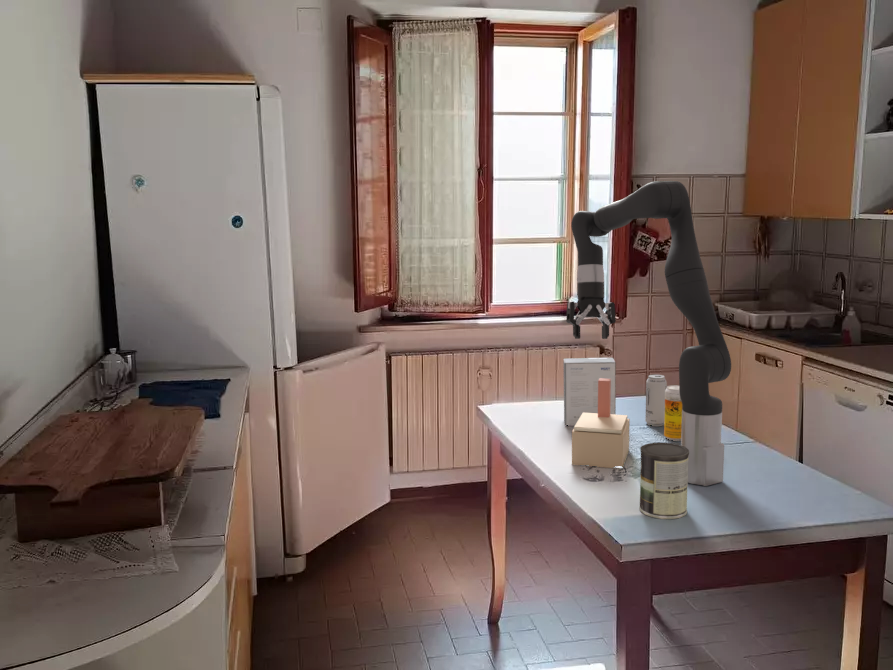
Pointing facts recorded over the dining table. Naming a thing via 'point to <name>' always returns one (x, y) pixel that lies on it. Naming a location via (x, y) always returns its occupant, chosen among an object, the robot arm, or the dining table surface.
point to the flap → (602, 414)
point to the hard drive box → (586, 386)
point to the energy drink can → (655, 400)
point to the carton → (600, 448)
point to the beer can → (673, 413)
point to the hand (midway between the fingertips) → (591, 338)
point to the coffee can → (664, 480)
